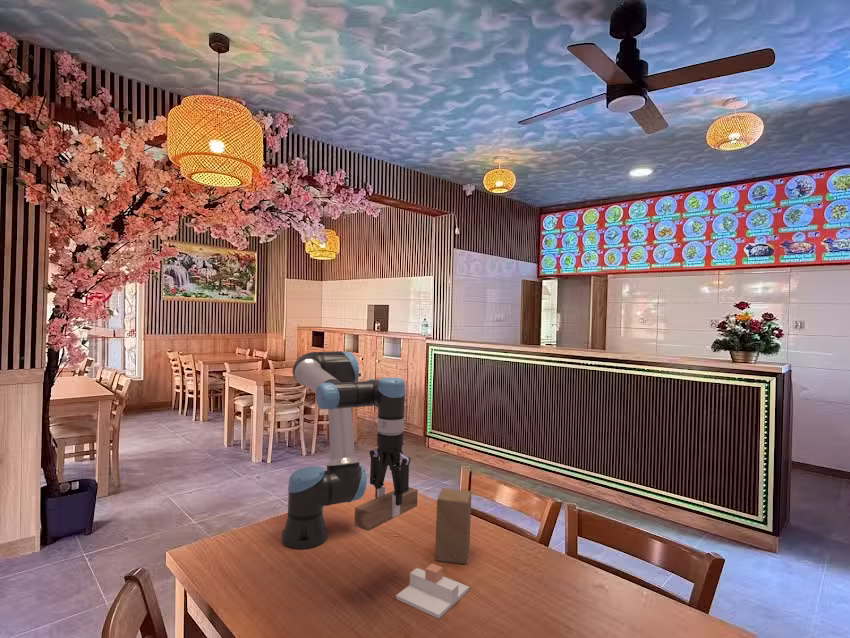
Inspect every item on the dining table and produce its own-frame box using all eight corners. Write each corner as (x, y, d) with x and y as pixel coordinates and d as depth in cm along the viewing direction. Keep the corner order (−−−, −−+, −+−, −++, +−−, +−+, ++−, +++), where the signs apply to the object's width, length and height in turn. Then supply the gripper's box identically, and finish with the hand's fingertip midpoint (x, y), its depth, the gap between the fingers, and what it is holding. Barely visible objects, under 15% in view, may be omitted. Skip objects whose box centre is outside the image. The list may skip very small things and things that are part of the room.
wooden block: (466, 565, 150) (468, 502, 150) (434, 560, 152) (436, 498, 152) (469, 550, 160) (471, 490, 160) (440, 546, 162) (442, 487, 162)
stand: (396, 598, 132) (396, 571, 132) (428, 573, 145) (429, 549, 145) (438, 618, 124) (439, 590, 124) (469, 590, 137) (470, 564, 137)
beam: (354, 525, 130) (355, 507, 130) (404, 501, 148) (404, 485, 148) (368, 531, 127) (368, 512, 127) (417, 506, 145) (417, 489, 145)
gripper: (358, 429, 140) (355, 508, 140) (407, 440, 129) (404, 526, 129) (375, 425, 146) (373, 501, 146) (423, 435, 135) (421, 517, 135)
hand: (388, 512), depth 138 cm, fingers closed on beam, 5 cm apart
